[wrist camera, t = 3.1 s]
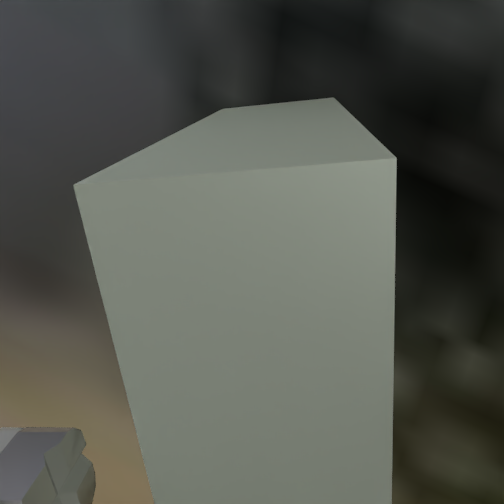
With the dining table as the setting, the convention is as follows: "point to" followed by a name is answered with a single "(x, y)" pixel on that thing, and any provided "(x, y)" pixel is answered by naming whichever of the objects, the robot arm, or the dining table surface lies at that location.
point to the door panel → (254, 304)
